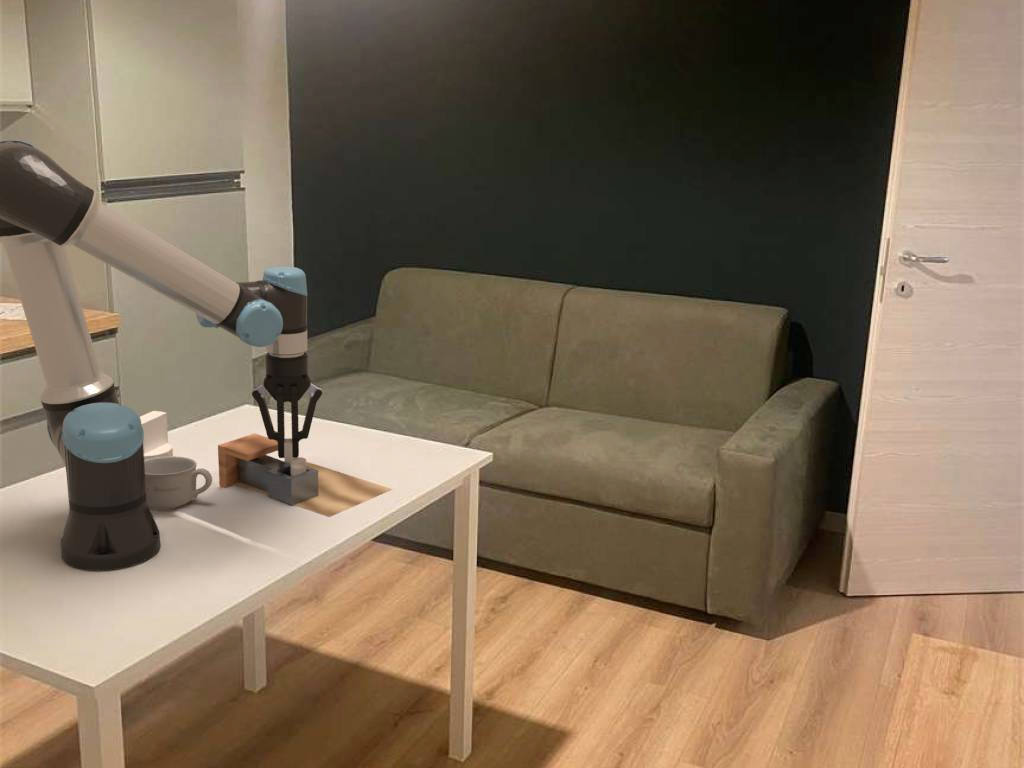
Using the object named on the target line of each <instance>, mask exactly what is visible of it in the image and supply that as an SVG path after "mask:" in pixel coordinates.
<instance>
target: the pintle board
mask: <svg viewBox="0 0 1024 768" xmlns="http://www.w3.org/2000/svg"><path fill="white" fill-rule="evenodd" d="M275 452H278V442H277V441H276V440H273V439H272V440H270V439H268V436H263V435H260V434H258V433H252V434H249V435H245V436H242V437H239V438H236V439H233V440H230V441H227V442H223V443H220V444H218V445H217V455H218V456H217V457H218V479H219V480H218V481H219V487H221V488H224V489H228V488H231V487H232V486H239V487H242V488H245V489H248V490H251V491H254V492H256V493H259V494H262V495H265V496H268V492H266V491H263V490H261V489H258V488H256V487H253V486H251V485H248V484H245V483H243V482H240V481H239V462H238V458H240V459H243V460H246V461H249V460H252V459H255V458H258V457H261V456H263V455H269V454H272V453H275ZM290 461H291V477H293V476H296V475H299V474H302V473H304V472H306V466H307V467H310V468H313V469H316V470H318V496H317V497H314V498H311V499H309V500H306V501H303V502H300V503H298V504H295V505H294V506H296V507H299V508H302V509H305V510H308V511H311V512H314V513H316V514H319V515H321V516H324V517H327V518H330V517H331V518H332V517H333V516H336V515H337V514H340V513H342V512H344V511H347V510H349V509H351V508H354V507H356V506H358V505H360V504H362V503H365V502H367V501H369V500H371V499H374V498H377V497H379V496H381V495H383V494H386V493H388V492H390V491H393V488H391V487H387V486H385V485H381V484H377V483H374V482H373V481H372V482H371V481H368V480H365V479H362V478H359V477H356V476H353V475H349V474H347V473H344V472H340V471H338V470H334V469H331V468H328V467H324V466H322V465H318V464H315V463H312V462H309V461H307V459H306V458H305V457H302V456H301V457H300V456H298V457H296V458H292V459H291V460H290Z"/></svg>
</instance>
